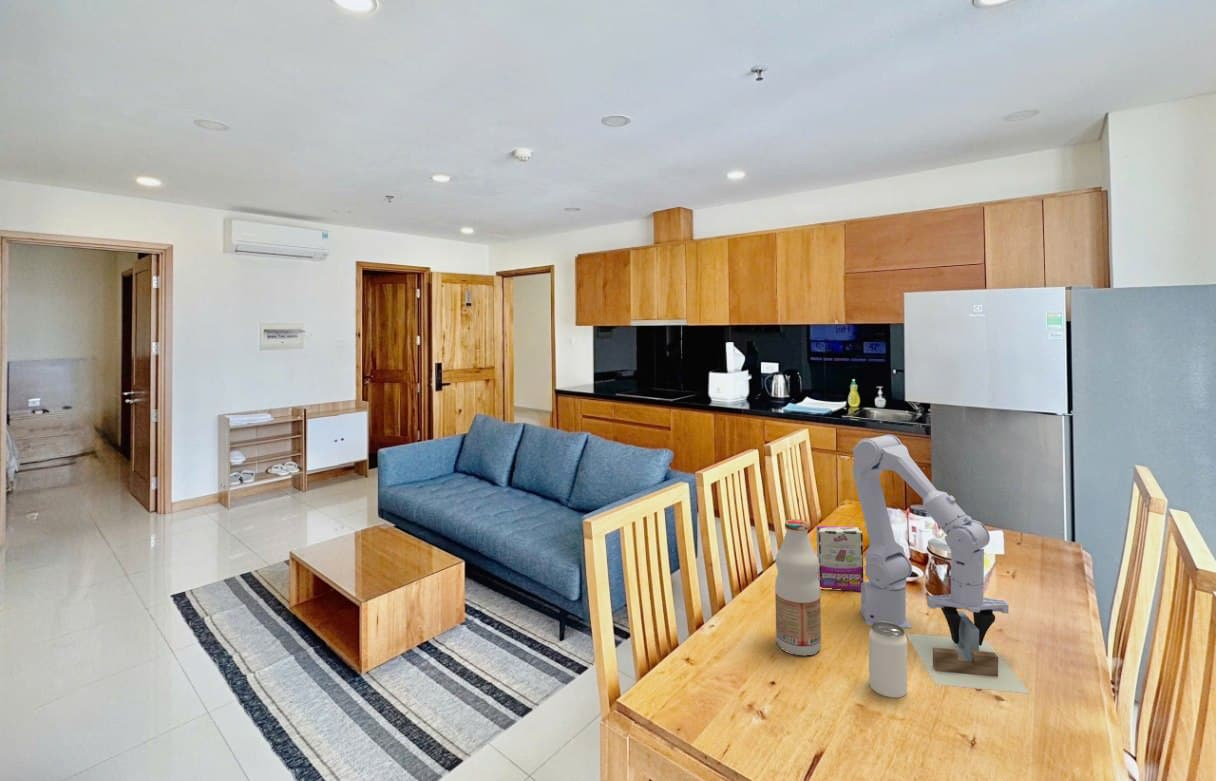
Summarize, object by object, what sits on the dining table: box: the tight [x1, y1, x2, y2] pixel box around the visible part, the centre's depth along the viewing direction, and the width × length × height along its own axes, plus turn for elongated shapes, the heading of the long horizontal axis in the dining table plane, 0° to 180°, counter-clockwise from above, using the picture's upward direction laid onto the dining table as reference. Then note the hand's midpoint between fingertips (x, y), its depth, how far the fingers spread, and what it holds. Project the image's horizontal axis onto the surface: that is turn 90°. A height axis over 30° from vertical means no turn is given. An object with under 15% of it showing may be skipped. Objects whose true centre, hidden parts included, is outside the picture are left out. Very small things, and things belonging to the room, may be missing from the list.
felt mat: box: [905, 633, 1032, 695], centre depth 112 cm, size 16×19×1 cm
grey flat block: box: [957, 610, 979, 661], centre depth 115 cm, size 2×8×7 cm, turn 166°
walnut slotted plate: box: [933, 648, 998, 677], centre depth 108 cm, size 11×2×4 cm, turn 76°
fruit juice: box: [774, 518, 822, 657], centre depth 119 cm, size 9×9×28 cm
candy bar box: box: [816, 525, 864, 592], centre depth 147 cm, size 11×5×16 cm, turn 77°
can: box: [868, 622, 908, 699], centre depth 104 cm, size 6×6×12 cm
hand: (966, 642), depth 115 cm, fingers open, 4 cm apart
